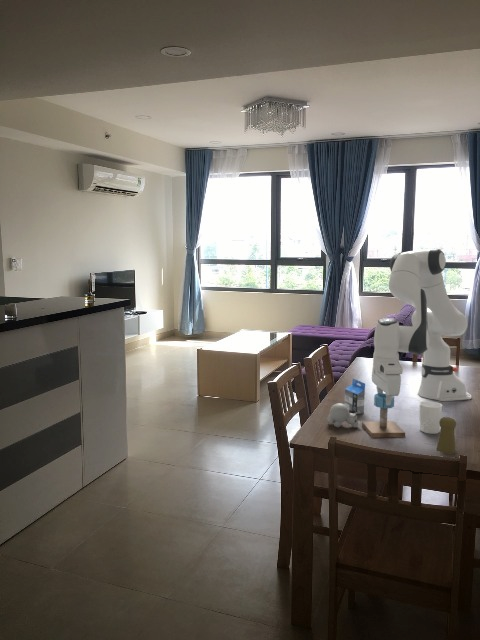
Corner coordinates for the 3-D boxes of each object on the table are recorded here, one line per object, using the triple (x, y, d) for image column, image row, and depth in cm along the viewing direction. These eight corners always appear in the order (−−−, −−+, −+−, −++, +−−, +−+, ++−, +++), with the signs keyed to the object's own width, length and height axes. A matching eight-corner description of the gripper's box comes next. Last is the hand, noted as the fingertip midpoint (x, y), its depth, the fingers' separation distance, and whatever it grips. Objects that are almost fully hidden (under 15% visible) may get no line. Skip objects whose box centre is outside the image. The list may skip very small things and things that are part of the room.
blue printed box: (343, 408, 222) (344, 379, 220) (351, 407, 223) (352, 378, 222) (356, 414, 214) (357, 384, 212) (364, 413, 215) (365, 383, 213)
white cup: (414, 427, 199) (416, 401, 198) (435, 426, 200) (436, 400, 198) (423, 434, 191) (425, 407, 190) (444, 434, 192) (446, 407, 191)
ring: (372, 402, 197) (372, 393, 196) (389, 402, 197) (390, 393, 197) (377, 408, 190) (378, 398, 190) (396, 408, 191) (396, 398, 190)
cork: (439, 445, 181) (441, 414, 180) (457, 449, 178) (460, 417, 176) (434, 451, 177) (436, 419, 175) (453, 455, 173) (455, 422, 172)
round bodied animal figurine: (353, 437, 196) (363, 418, 193) (323, 422, 198) (333, 403, 196) (356, 430, 202) (365, 411, 200) (327, 416, 205) (335, 397, 203)
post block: (393, 425, 201) (394, 400, 200) (405, 436, 190) (406, 410, 188) (362, 425, 201) (362, 401, 199) (371, 437, 189) (372, 411, 187)
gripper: (368, 357, 201) (366, 393, 204) (386, 370, 181) (384, 410, 183) (384, 357, 202) (383, 393, 204) (404, 370, 182) (402, 409, 184)
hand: (384, 401), depth 193 cm, fingers closed on ring, 7 cm apart
